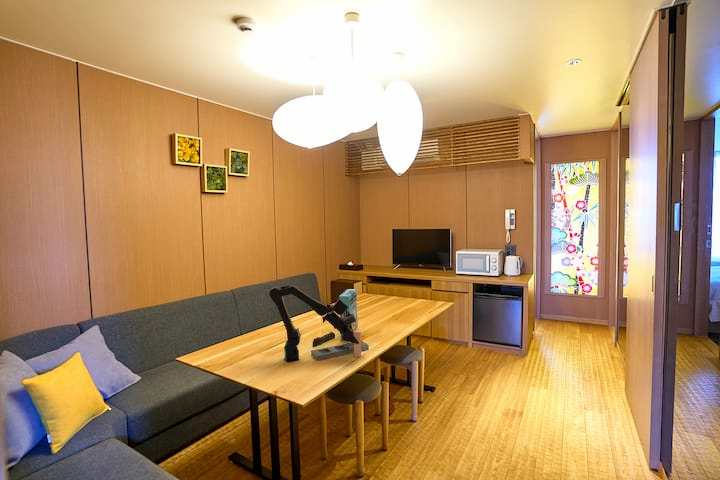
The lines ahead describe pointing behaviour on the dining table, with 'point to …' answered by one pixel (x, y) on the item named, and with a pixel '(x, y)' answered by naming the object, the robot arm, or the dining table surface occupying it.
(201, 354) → the dining table surface
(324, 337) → the hand tool
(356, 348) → the peg
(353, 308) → the game box
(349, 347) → the rail
